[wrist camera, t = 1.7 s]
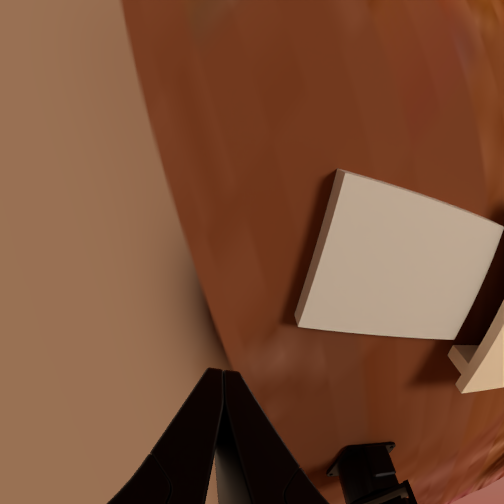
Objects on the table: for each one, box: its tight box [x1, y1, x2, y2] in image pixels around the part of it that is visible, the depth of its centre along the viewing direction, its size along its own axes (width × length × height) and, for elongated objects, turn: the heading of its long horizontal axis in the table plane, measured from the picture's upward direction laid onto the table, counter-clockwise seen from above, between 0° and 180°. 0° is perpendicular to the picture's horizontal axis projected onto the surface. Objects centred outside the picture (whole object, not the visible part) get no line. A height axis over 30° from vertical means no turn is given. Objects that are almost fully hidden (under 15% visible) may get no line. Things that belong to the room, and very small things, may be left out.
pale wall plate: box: [294, 168, 504, 340], centre depth 20 cm, size 10×14×2 cm
